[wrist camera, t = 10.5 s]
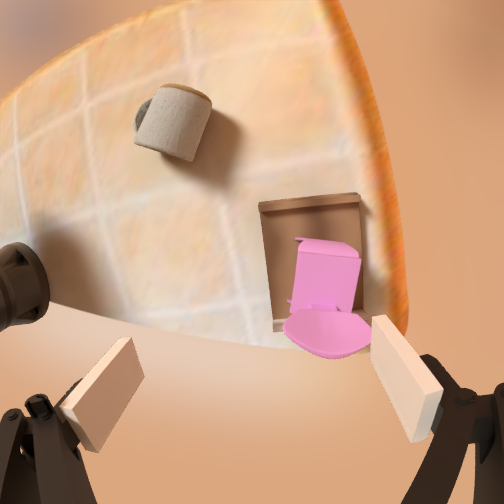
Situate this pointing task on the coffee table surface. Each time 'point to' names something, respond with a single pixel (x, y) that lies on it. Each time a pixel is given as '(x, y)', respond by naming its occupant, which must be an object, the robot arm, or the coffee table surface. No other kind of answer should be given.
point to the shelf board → (304, 226)
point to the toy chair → (326, 300)
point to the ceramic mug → (173, 121)
